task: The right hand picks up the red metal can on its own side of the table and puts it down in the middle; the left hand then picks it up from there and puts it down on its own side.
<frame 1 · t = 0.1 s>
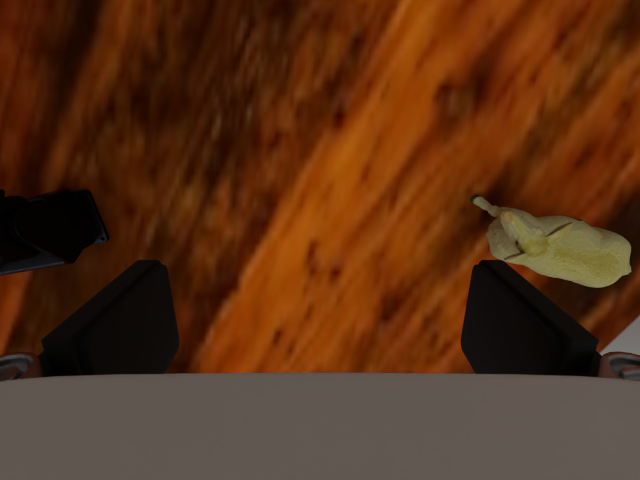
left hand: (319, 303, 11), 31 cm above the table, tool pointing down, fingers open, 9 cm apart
toy: (509, 220, 42), on the table
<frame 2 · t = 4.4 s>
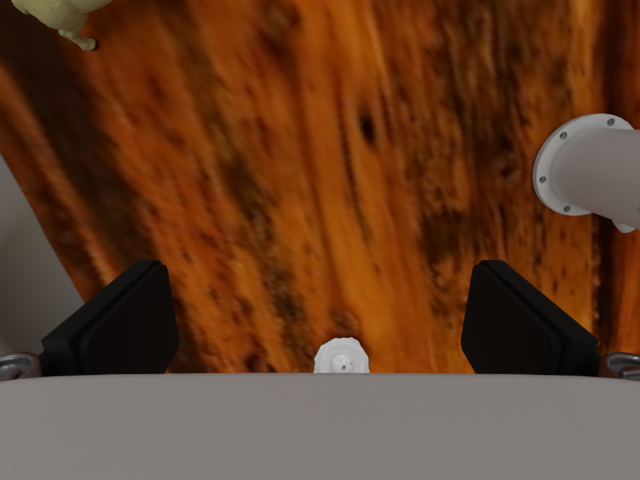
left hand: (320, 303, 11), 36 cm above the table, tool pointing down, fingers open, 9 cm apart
seashell: (339, 352, 55), on the table
when the right hand's fingers open (2 cm above the table, at t = 11.2 s): can stays where it is, on the table.
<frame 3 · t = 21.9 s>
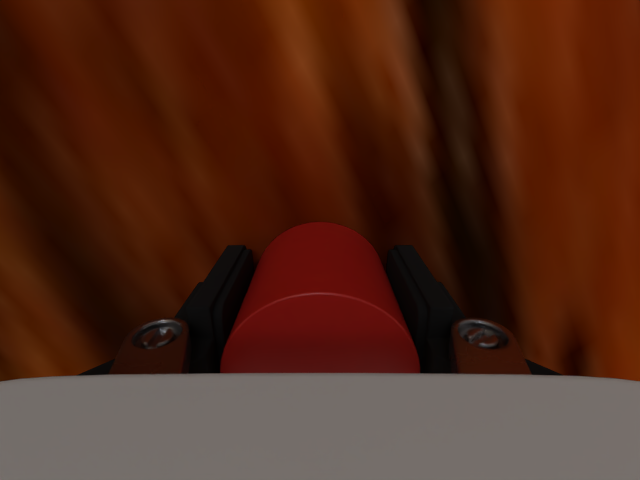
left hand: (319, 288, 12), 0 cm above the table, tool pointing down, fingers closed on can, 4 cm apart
can: (320, 282, 12), on the table, touching left hand
when the left hand's fingers open (1 cm above the table, at t = 30.8 s): can stays where it is, on the table.
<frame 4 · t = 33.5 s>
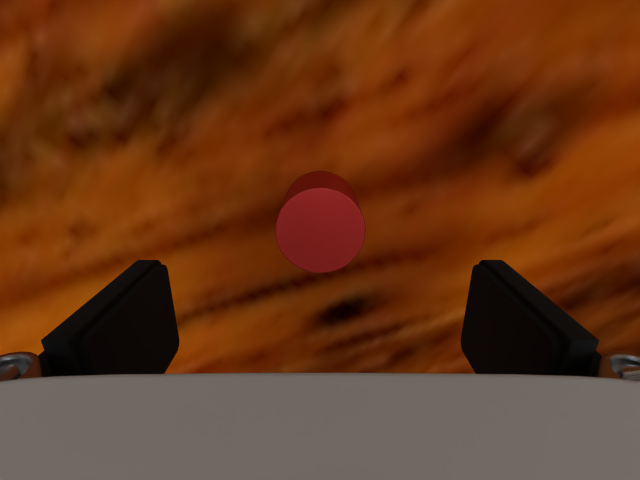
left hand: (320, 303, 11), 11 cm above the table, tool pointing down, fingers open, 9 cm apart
can: (320, 207, 22), on the table
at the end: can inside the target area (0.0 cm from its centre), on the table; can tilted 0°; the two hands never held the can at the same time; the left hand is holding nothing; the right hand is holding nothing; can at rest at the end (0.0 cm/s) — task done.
